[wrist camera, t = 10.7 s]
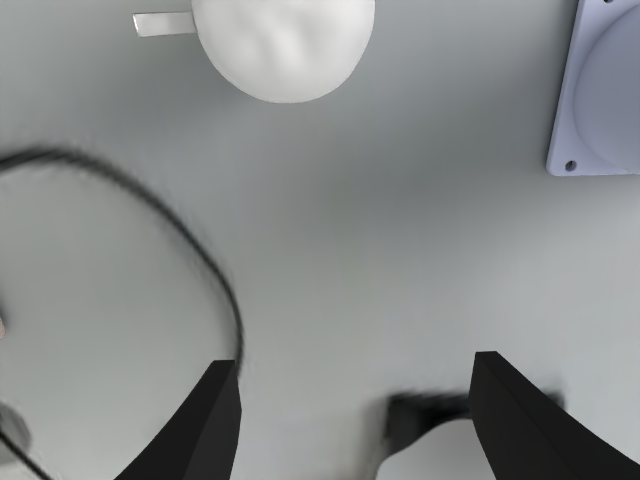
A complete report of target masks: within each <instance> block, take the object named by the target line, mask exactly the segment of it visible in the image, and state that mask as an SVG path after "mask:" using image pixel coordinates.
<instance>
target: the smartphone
mask: <svg viewBox="0 0 640 480" xmlns="http://www.w3.org/2000/svg"><path fill="white" fill-rule="evenodd" d="M4 335H5V327H4V324H3V322H2V319H1V317H0V339H1V338H2V337H3V336H4Z"/></svg>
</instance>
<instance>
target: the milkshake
mask: <svg viewBox="0 0 640 480" xmlns="http://www.w3.org/2000/svg"><path fill="white" fill-rule="evenodd" d="M191 1H192V11H193V12H159V13H135V14H133V15H132V18H133V22H134V26H135V29H136V33H137V35H138V37H154V36H165V35H176V34H187V33H198V36H199V38H200V41H201V43H202V46H203V48H204V50H205V52H206V54H207V56H208V57H209V59H210V61H211V62H212V64H213V65H214V66H215V68H216V69H217V70H218V71H219V72H220V73H221V75H222V76H223V77H225V78H226V79H227V80H228V81H229V82H230V83H232V84H233V85H234V86H236V87H237V88H239V89H240V90H242V91H243V92H245V93H247V94H249V95H251V96H253V97H255V98H258V99H260V100H263V101H267V102H272V103H300V102H306V101H311V100H314V99H317V98H319V97H322V96H324V95H326V94H328V93H329V92H331V91H333V90H334V89H336V88H337V87H338V86H340V85H341V84H342V83H343V82H344V81H345V80H346V79H347V78H348V77H349V76H350V74H351V73H352V72H353V70H354V68H355V67H356V65H357V64H358V62H359V60H360V58H361V56H362V54H363V52H364V50H365V48H366V46H367V44H368V41H369V39H370V36H371V33H372V29H373V23H374V13H375V0H191Z"/></svg>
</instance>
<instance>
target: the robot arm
mask: <svg viewBox="0 0 640 480" xmlns="http://www.w3.org/2000/svg"><path fill="white" fill-rule="evenodd" d="M569 161H572V165H571V167H569V168H568V169H565V166H566V164H567V163H568V162H569ZM546 169H547V171H548V172H549V173H550V174H552V175H553V176H583V175H615V174H637V175H639V176H640V0H608V1H607V2H604V0H579V4H578V9H577V14H576V19H575V24H574V29H573V34H572V38H571V43H570V48H569V53H568V58H567V63H566V68H565V73H564V78H563V83H562V88H561V93H560V98H559V103H558V108H557V113H556V118H555V123H554V128H553V133H552V138H551V143H550V148H549V153H548V158H547V163H546ZM468 406H469V409H470V413H471V416H472V420H473V423H474V426H475V430H476V433H477V436H478V438H479V441H480V443H481V445H482V448H483V450H484V452H485V455H486V457H487V459H488V462H489V464H490V466H491V468H492V470H493V473H494V475H495V477H496V480H640V465H639V464H638V463H636V462H635V461H633V460H631V459H630V458H628V457H627V456H625V455H624V454H622V453H621V452H619V451H618V450H617V449H615V448H614V447H612V446H611V445H609V444H608V443H606V442H605V441H603V440H602V439H601V438H599V437H598V436H596V435H595V434H594V433H592V432H591V431H590V430H588V429H587V428H586V427H584V426H583V425H582V424H581V423H579V422H578V421H577V420H575V419H574V418H573V417H572V416H570V415H569V414H568V413H566V412H565V411H564V410H563V409H562V408H560V407H559V406H558V405H557V404H555V403H554V402H553V401H552V400H551V399H550V398H548V397H547V396H546V395H545V394H544V393H543V392H541V391H540V390H539V389H538V388H537V387H536V386H535V385H533V384H532V383H531V382H530V381H529V380H528V379H527V378H526V377H524V376H523V375H522V374H521V373H520V372H519V371H518V370H517V369H516V368H514V367H513V366H512V365H511V364H510V363H509V362H508V361H507V360H506V359H505V358H503V357H502V356H501V355H500V354H499V353H498V352H497V351H487V352H476V354H475V360H474V366H473V372H472V379H471V385H470V391H469V397H468ZM241 412H242V409H241V402H240V395H239V388H238V381H237V374H236V367H235V360H214V361H213V362H212V363H211V364H210V366H209V367H208V369H207V370H206V371H205V373H204V374H203V376H202V377H201V379H200V380H199V382H198V383H197V384H196V386H195V387H194V389H193V390H192V391H191V393H190V394H189V395H188V397H187V398H186V399H185V401H184V402H183V403H182V405H181V406H180V407H179V409H178V410H177V411H176V412H175V414H174V415H173V416H172V417H171V419H170V420H169V421H168V422H167V423H166V425H165V426H164V427H163V428H162V429H161V431H160V432H159V433H158V434H157V435H156V436H155V438H154V439H153V440H152V441H151V442H150V443H149V444H148V446H147V447H146V448H145V449H144V450H143V451H142V452H141V453H140V454H139V455H138V456H137V457H136V458H135V459H134V460H133V461H132V462H131V463H130V464H129V465H128V466H127V467H126V468H125V469H124V470H123V471H122V472H121V473H120V474H119V475H118V476H117V477H116V478H115V479H114V480H229V479H230V475H231V471H232V467H233V462H234V458H235V454H236V449H237V445H238V438H239V430H240V421H241Z"/></svg>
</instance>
